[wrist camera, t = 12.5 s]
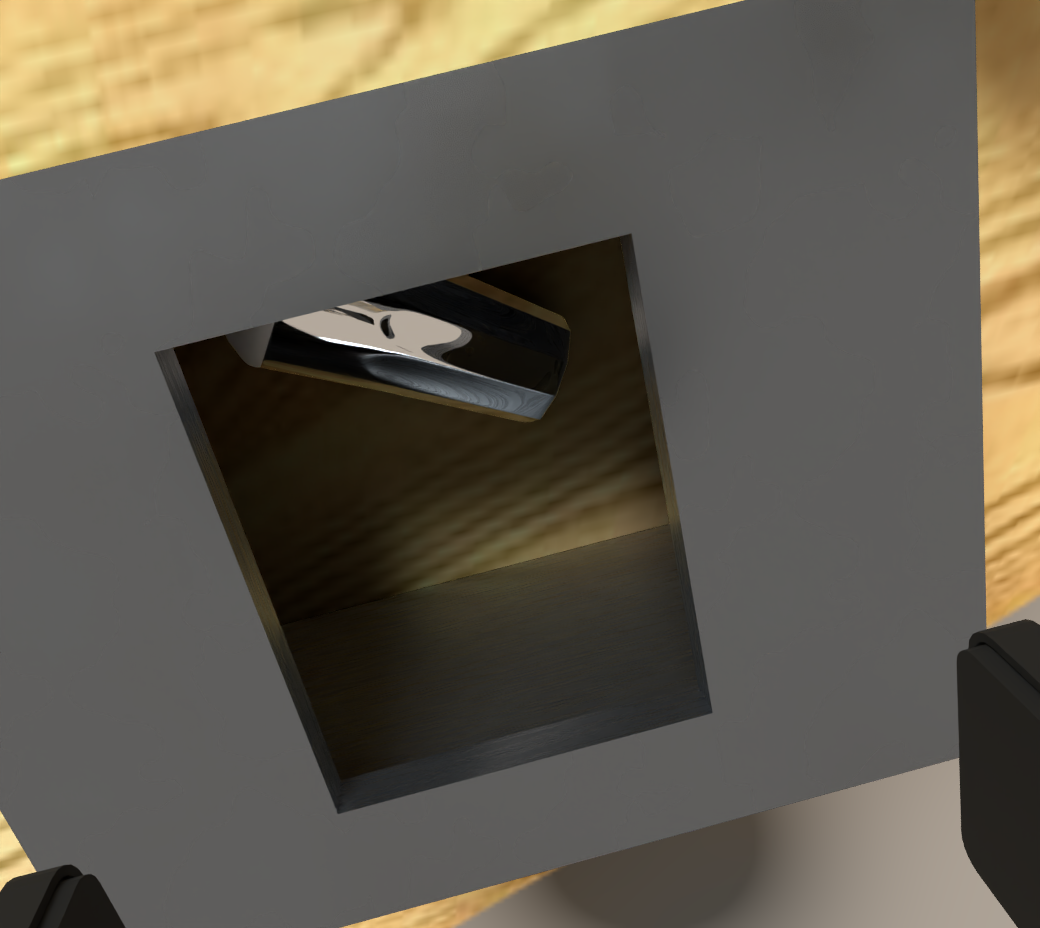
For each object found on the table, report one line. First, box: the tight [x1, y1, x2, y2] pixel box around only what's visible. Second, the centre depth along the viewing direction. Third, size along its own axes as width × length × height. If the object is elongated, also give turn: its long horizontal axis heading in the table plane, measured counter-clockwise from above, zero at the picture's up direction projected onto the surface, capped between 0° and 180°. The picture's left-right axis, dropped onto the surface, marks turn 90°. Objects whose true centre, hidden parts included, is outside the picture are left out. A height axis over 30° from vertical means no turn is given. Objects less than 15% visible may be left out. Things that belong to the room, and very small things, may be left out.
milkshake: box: [226, 275, 571, 423], centre depth 24 cm, size 5×5×10 cm
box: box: [0, 0, 986, 928], centre depth 22 cm, size 20×16×12 cm
